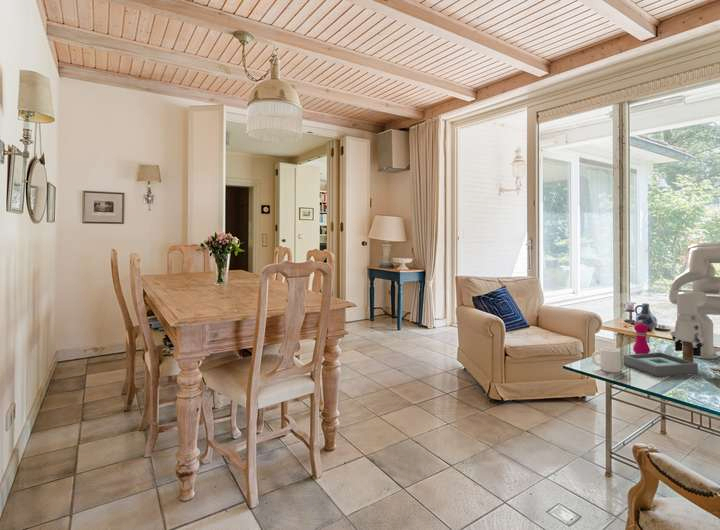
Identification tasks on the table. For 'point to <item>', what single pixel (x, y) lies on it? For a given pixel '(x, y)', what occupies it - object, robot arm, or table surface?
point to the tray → (662, 368)
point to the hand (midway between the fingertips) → (687, 353)
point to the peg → (687, 351)
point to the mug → (608, 359)
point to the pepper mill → (641, 338)
